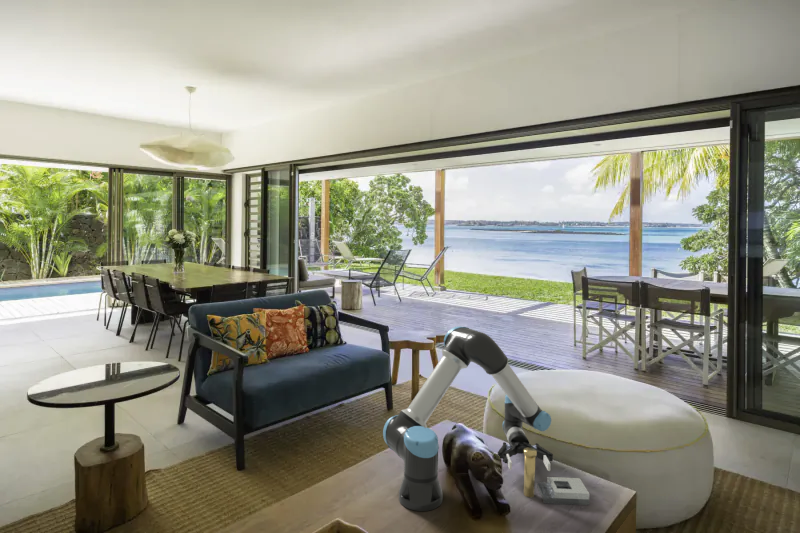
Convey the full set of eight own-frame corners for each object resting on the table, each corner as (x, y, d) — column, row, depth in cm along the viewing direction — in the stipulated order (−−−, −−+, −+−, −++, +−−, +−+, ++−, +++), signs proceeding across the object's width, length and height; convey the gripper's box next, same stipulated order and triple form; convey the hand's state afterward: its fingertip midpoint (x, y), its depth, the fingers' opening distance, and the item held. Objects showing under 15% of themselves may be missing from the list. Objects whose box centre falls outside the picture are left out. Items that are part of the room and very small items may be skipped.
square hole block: (544, 503, 157) (544, 491, 157) (537, 487, 167) (537, 476, 167) (589, 505, 156) (589, 493, 156) (579, 488, 166) (579, 478, 166)
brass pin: (523, 497, 160) (525, 453, 159) (521, 490, 164) (522, 447, 163) (536, 498, 160) (538, 453, 159) (533, 491, 164) (535, 447, 163)
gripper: (549, 450, 185) (565, 478, 164) (486, 448, 186) (494, 475, 165) (549, 432, 184) (565, 457, 163) (486, 430, 185) (494, 455, 164)
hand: (529, 466), depth 164 cm, fingers open, 13 cm apart
